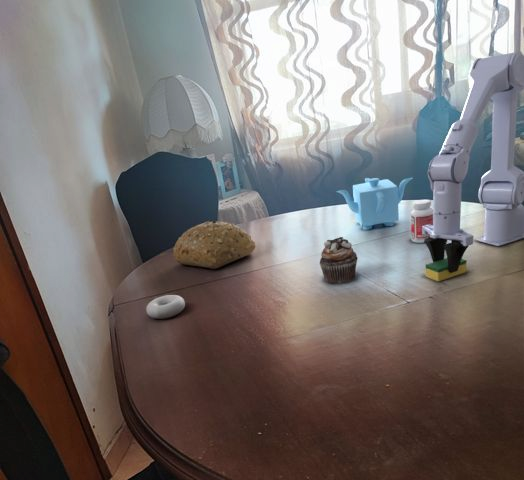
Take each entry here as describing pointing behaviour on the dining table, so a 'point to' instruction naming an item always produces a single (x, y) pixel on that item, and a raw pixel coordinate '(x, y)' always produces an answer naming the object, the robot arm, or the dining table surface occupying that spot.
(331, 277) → the cupcake
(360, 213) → the teakettle
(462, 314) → the dining table surface
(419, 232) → the pill bottle
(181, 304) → the donut
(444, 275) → the sponge
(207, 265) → the bread
